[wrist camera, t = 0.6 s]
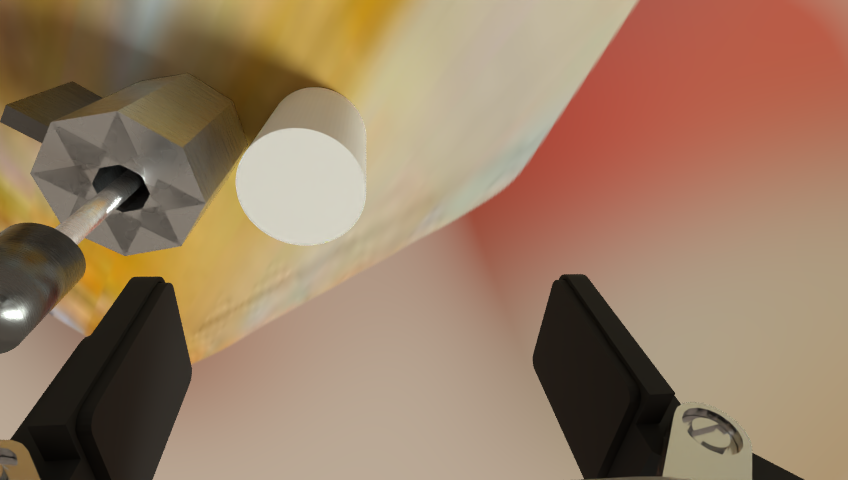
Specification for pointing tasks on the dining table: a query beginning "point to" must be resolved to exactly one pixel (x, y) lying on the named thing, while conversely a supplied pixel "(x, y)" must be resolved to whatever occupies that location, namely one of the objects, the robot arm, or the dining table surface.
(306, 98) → the light grey cylinder
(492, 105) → the dining table surface
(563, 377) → the robot arm
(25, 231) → the plunger
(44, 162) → the octagonal faceted vessel
